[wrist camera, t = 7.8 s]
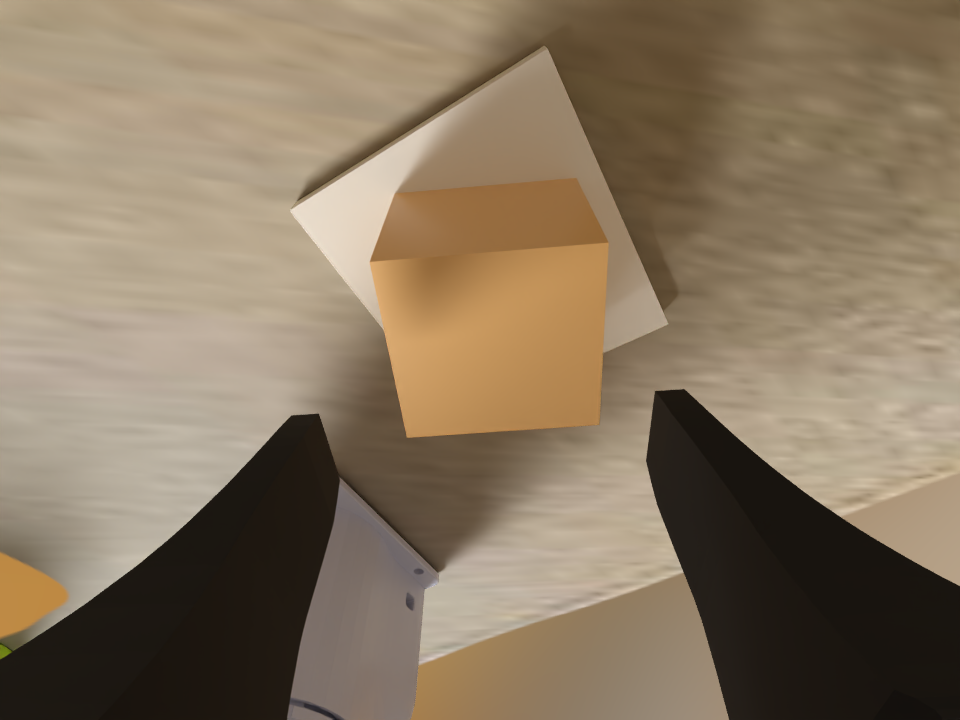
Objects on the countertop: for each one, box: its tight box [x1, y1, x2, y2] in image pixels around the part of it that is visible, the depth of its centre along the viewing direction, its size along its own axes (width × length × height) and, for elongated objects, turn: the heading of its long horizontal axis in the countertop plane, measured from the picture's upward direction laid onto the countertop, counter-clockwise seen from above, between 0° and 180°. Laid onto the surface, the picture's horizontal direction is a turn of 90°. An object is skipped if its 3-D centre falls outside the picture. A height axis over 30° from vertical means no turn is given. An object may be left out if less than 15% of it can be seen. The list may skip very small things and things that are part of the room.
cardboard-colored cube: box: [370, 178, 609, 438], centre depth 17 cm, size 6×6×5 cm
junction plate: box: [290, 46, 668, 353], centre depth 18 cm, size 10×9×4 cm
